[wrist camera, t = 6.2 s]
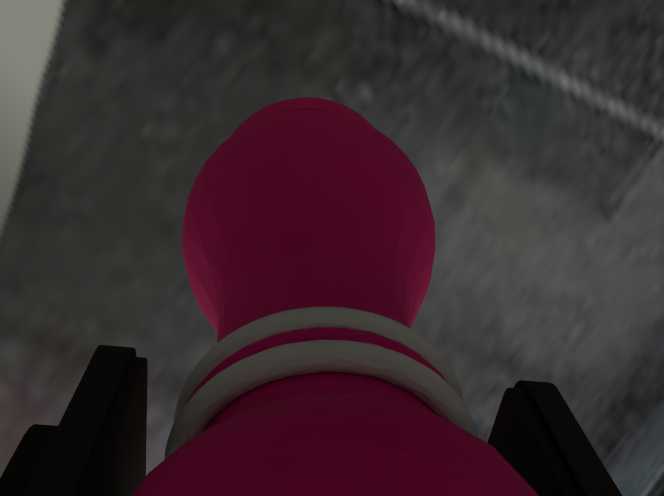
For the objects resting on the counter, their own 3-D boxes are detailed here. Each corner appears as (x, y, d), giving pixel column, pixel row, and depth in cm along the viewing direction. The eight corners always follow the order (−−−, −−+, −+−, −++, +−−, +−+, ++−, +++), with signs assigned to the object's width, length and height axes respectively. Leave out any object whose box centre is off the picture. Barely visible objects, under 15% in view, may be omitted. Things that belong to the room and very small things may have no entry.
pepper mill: (420, 251, 23) (865, 1301, 5) (235, 290, 23) (50, 1417, 5) (389, 59, 20) (1288, 1076, 2) (176, 107, 20) (-756, 1379, 2)
